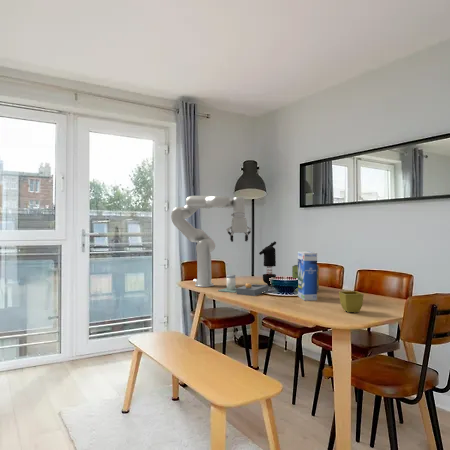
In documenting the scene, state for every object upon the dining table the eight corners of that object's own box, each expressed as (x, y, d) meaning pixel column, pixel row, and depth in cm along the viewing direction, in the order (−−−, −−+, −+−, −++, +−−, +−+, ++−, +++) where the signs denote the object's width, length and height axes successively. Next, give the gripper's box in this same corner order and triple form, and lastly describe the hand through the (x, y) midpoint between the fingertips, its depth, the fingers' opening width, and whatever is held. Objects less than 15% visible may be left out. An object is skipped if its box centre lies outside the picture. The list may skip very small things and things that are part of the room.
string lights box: (297, 296, 220) (297, 251, 220) (310, 296, 220) (310, 251, 221) (304, 300, 207) (304, 252, 207) (318, 300, 207) (317, 252, 207)
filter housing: (236, 294, 228) (236, 288, 228) (251, 289, 244) (251, 284, 244) (254, 295, 222) (254, 289, 222) (268, 291, 238) (268, 285, 238)
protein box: (317, 292, 233) (317, 266, 233) (292, 291, 238) (291, 266, 238) (319, 289, 242) (319, 265, 243) (294, 288, 247) (294, 264, 248)
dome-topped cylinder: (228, 290, 237) (227, 276, 237) (225, 289, 243) (225, 274, 243) (236, 290, 239) (236, 275, 239) (234, 288, 244) (234, 274, 244)
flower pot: (338, 310, 184) (338, 291, 184) (356, 309, 184) (355, 290, 184) (345, 314, 175) (345, 294, 175) (364, 313, 176) (364, 294, 176)
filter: (272, 284, 265) (271, 241, 265) (280, 286, 257) (279, 241, 257) (255, 285, 259) (255, 241, 259) (263, 287, 251) (262, 241, 251)
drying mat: (218, 291, 239) (218, 290, 239) (228, 288, 249) (228, 287, 249) (234, 292, 232) (234, 291, 232) (244, 290, 243) (244, 289, 243)
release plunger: (244, 293, 228) (244, 284, 228) (247, 292, 231) (247, 283, 231) (249, 293, 226) (249, 284, 226) (252, 292, 229) (252, 283, 229)
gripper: (227, 215, 248) (227, 241, 248) (253, 215, 252) (253, 241, 252) (224, 215, 255) (225, 241, 255) (249, 215, 259) (250, 241, 259)
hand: (239, 241), depth 254 cm, fingers open, 9 cm apart
